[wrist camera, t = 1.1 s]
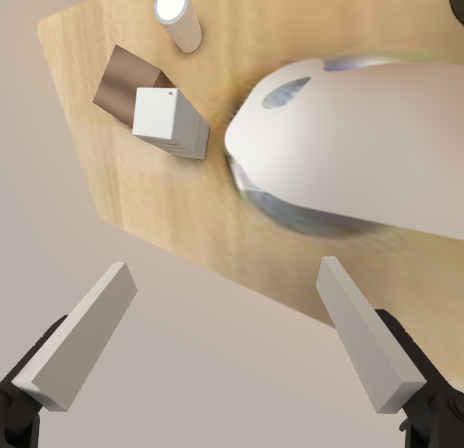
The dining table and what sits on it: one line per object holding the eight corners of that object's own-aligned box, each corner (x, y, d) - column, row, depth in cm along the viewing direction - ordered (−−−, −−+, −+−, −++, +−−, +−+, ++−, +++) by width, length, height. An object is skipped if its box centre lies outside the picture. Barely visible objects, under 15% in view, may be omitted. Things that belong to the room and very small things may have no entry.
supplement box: (179, 122, 41) (136, 84, 28) (210, 125, 39) (178, 86, 27) (174, 157, 41) (130, 134, 29) (204, 161, 40) (171, 139, 27)
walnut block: (138, 67, 43) (115, 44, 37) (177, 89, 40) (160, 69, 35) (116, 116, 45) (92, 102, 39) (153, 140, 43) (133, 129, 37)
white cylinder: (206, 51, 38) (189, 16, 31) (176, 60, 40) (154, 29, 33) (203, 15, 38) (186, -28, 31) (173, 26, 39) (151, -12, 33)
